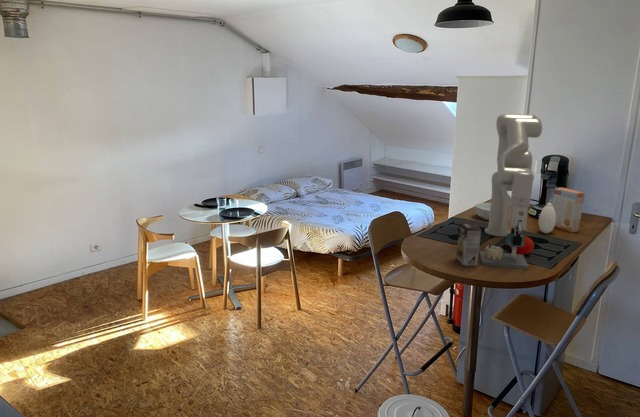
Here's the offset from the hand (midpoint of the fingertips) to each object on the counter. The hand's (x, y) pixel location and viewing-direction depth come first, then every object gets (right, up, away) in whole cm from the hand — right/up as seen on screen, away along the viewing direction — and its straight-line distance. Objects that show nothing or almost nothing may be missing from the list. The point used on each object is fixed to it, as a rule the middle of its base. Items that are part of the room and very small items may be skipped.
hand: (515, 242), depth 209 cm
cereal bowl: (+13, +8, +69) cm, 70 cm away
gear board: (-4, -8, +3) cm, 10 cm away
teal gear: (0, -1, 0) cm, 1 cm away
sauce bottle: (+33, +2, +45) cm, 55 cm away
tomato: (+8, -6, +14) cm, 17 cm away
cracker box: (+46, +3, +53) cm, 70 cm away
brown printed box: (-20, -9, +2) cm, 22 cm away
